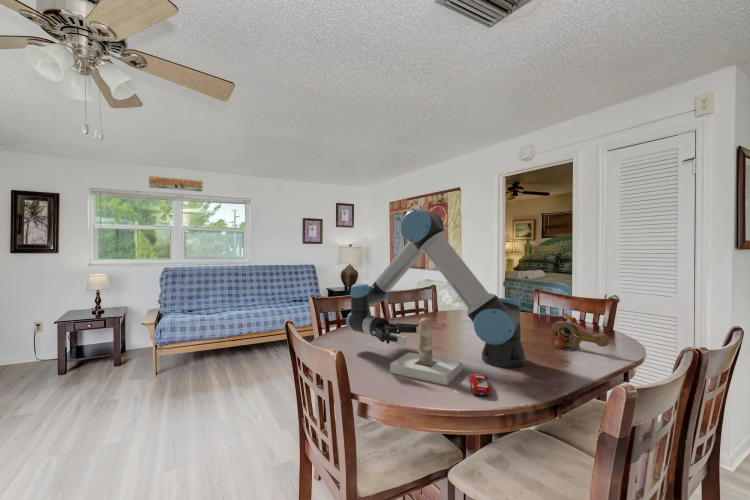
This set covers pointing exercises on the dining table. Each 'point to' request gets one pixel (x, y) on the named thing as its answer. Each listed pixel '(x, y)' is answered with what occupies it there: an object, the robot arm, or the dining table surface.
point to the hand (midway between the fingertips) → (418, 337)
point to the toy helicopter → (574, 334)
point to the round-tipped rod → (425, 342)
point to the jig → (427, 368)
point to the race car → (479, 384)
